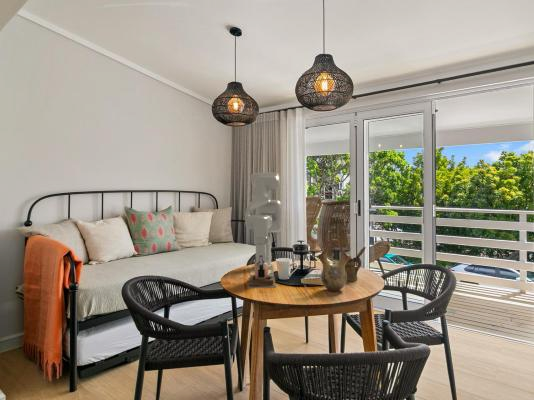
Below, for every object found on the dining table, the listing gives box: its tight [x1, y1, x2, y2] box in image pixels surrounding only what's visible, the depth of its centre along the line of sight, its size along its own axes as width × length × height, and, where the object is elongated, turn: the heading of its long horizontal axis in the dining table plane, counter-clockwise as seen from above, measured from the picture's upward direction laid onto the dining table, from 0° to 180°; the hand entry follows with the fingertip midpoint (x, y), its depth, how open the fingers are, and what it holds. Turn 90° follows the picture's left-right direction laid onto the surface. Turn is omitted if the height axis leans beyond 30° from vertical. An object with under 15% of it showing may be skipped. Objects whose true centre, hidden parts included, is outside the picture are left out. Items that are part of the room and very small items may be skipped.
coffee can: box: [332, 246, 351, 264], centre depth 195 cm, size 10×10×14 cm
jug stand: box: [246, 274, 277, 289], centre depth 170 cm, size 20×14×4 cm
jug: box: [254, 261, 275, 280], centre depth 170 cm, size 10×7×10 cm
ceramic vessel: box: [316, 238, 352, 292], centre depth 160 cm, size 16×9×25 cm, turn 82°
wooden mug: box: [345, 246, 366, 283], centre depth 178 cm, size 9×14×18 cm, turn 81°
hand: (261, 275), depth 170 cm, fingers closed on jug, 6 cm apart
